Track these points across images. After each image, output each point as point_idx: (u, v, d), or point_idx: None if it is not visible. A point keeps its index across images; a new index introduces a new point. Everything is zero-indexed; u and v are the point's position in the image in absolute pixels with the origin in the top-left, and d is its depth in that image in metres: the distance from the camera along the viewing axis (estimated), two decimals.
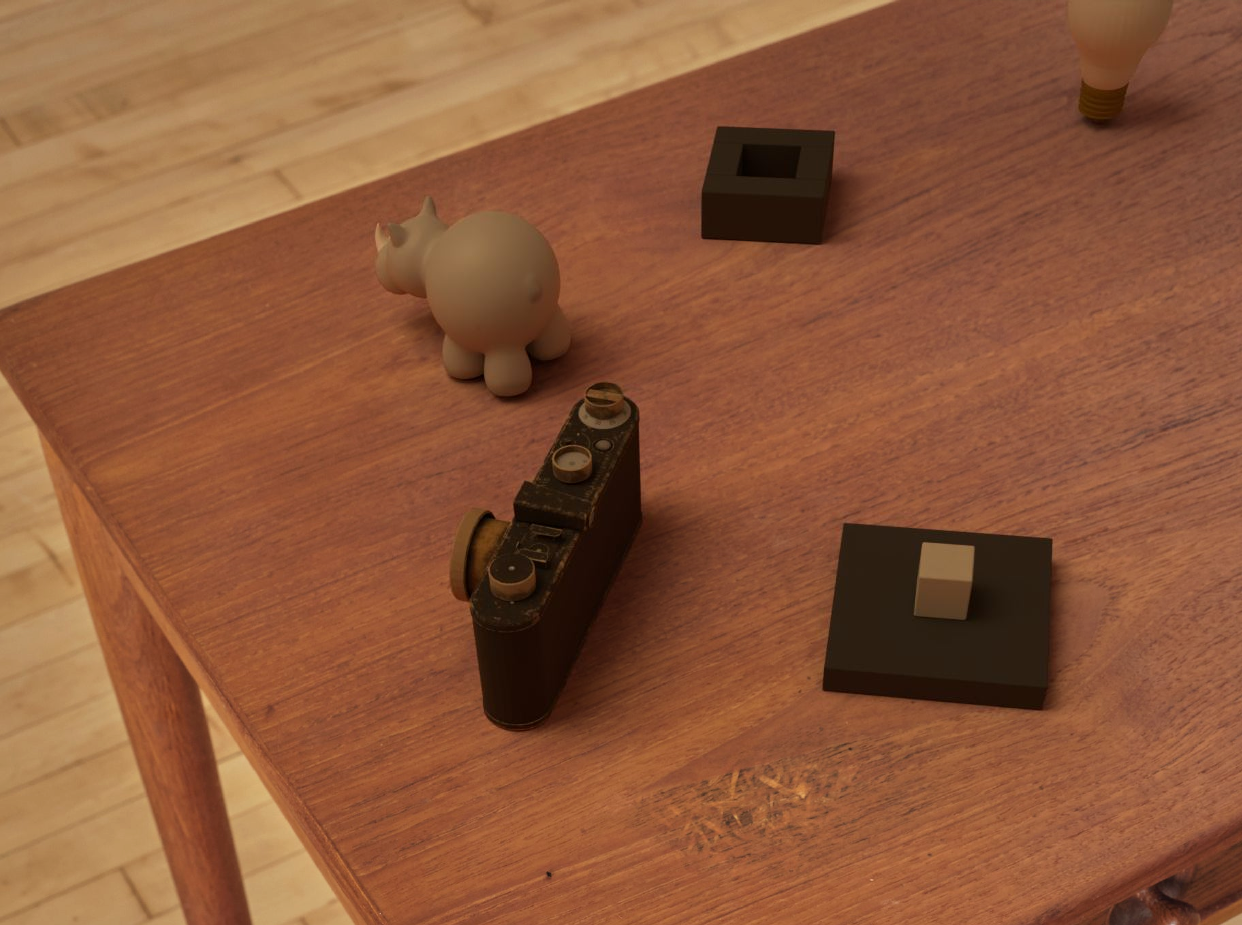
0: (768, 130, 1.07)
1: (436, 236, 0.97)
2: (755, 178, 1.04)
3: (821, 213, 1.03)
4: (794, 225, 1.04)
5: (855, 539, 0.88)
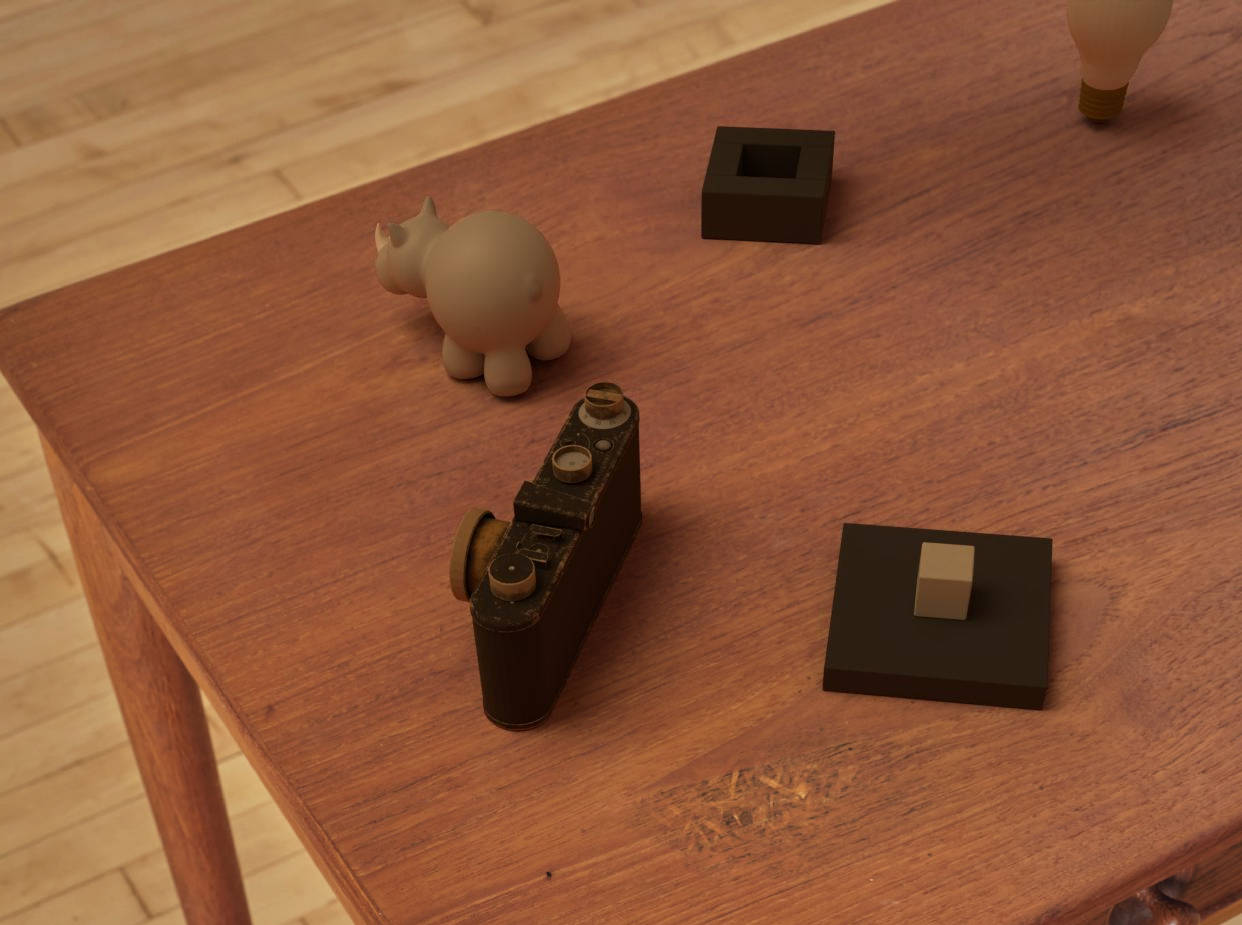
0: (768, 130, 1.07)
1: (436, 236, 0.97)
2: (755, 178, 1.04)
3: (821, 213, 1.03)
4: (794, 225, 1.04)
5: (855, 539, 0.88)
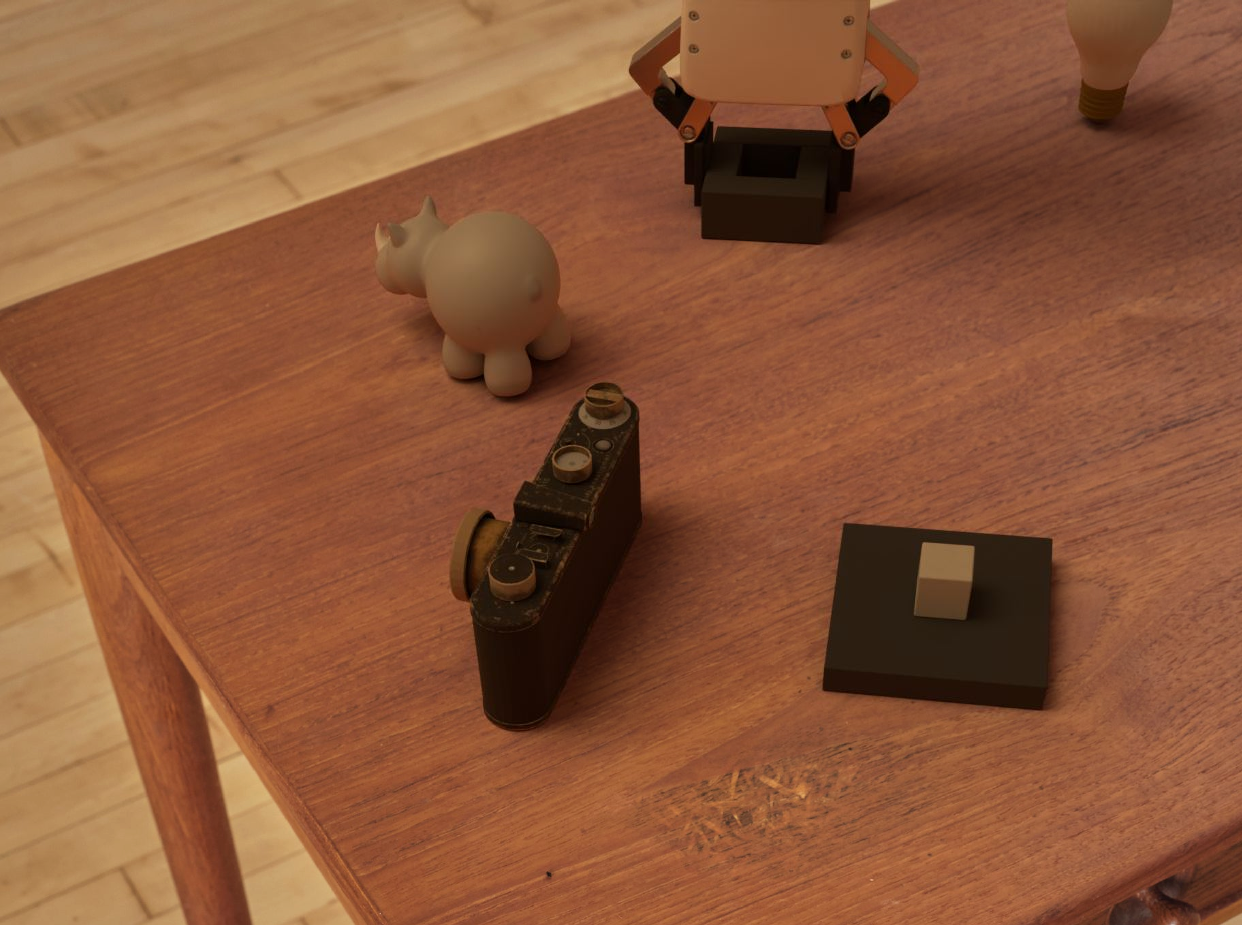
0: (768, 130, 1.07)
1: (436, 236, 0.97)
2: (755, 178, 1.04)
3: (821, 213, 1.03)
4: (794, 225, 1.04)
5: (855, 539, 0.88)
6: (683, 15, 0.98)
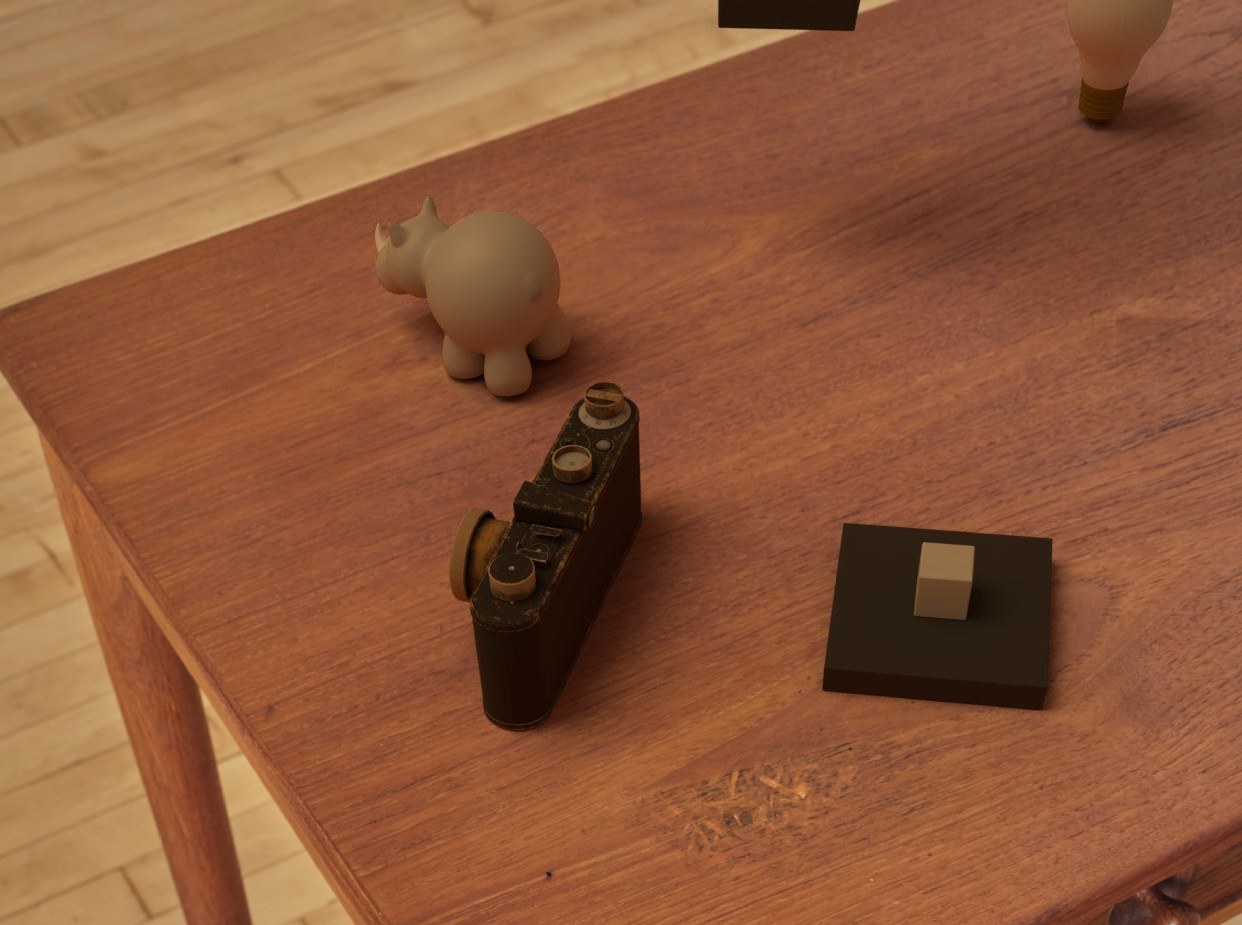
0: None
1: (436, 236, 0.97)
2: None
3: None
4: (824, 8, 0.91)
5: (855, 539, 0.88)
6: None
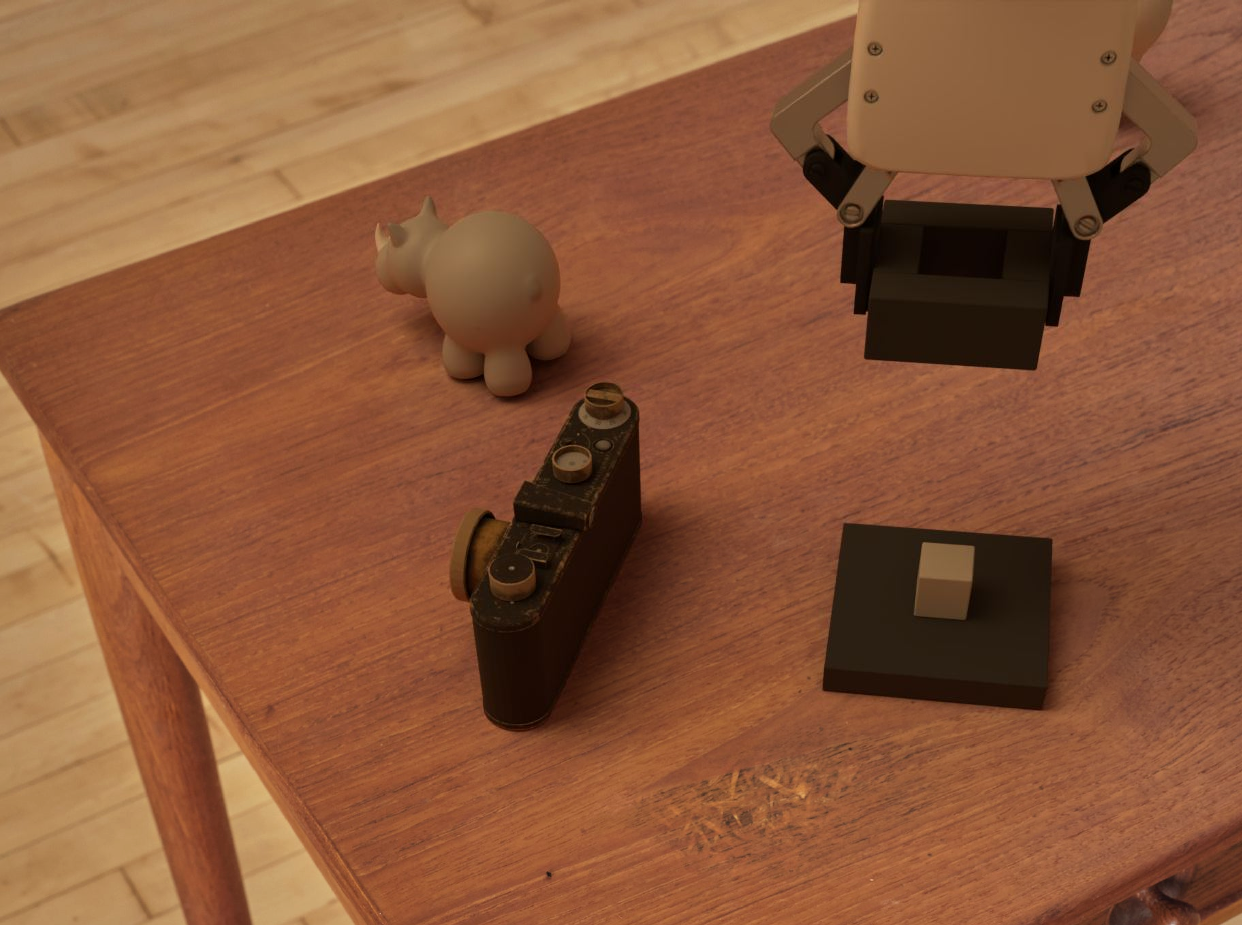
0: (958, 206, 0.76)
1: (436, 236, 0.97)
2: (945, 277, 0.73)
3: (1042, 329, 0.72)
4: (1000, 345, 0.73)
5: (855, 539, 0.88)
6: (858, 48, 0.66)
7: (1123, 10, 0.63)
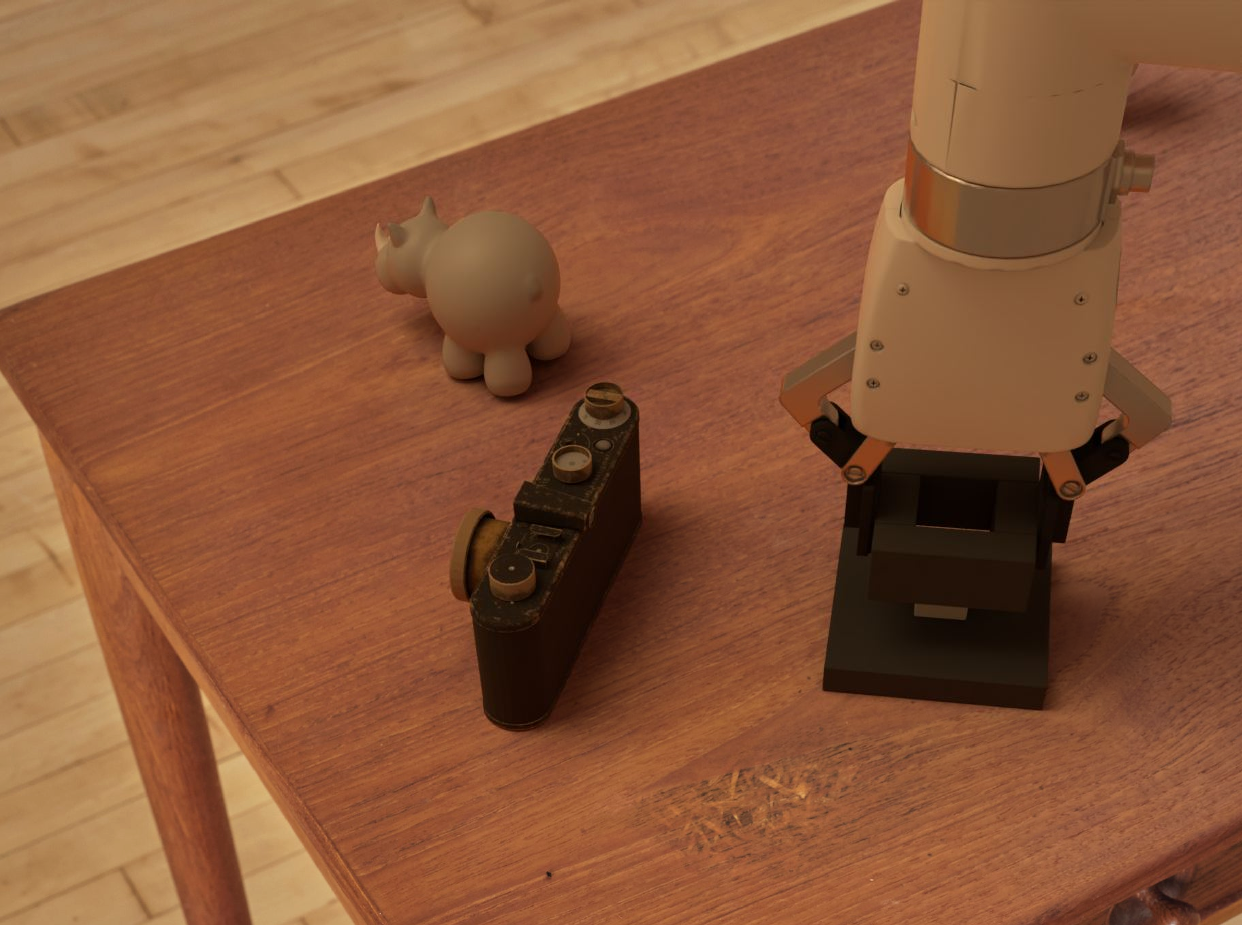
0: (952, 454, 0.82)
1: (436, 236, 0.97)
2: (941, 530, 0.79)
3: (1030, 579, 0.78)
4: (992, 591, 0.79)
5: (855, 539, 0.88)
6: (861, 343, 0.73)
7: (1103, 320, 0.69)
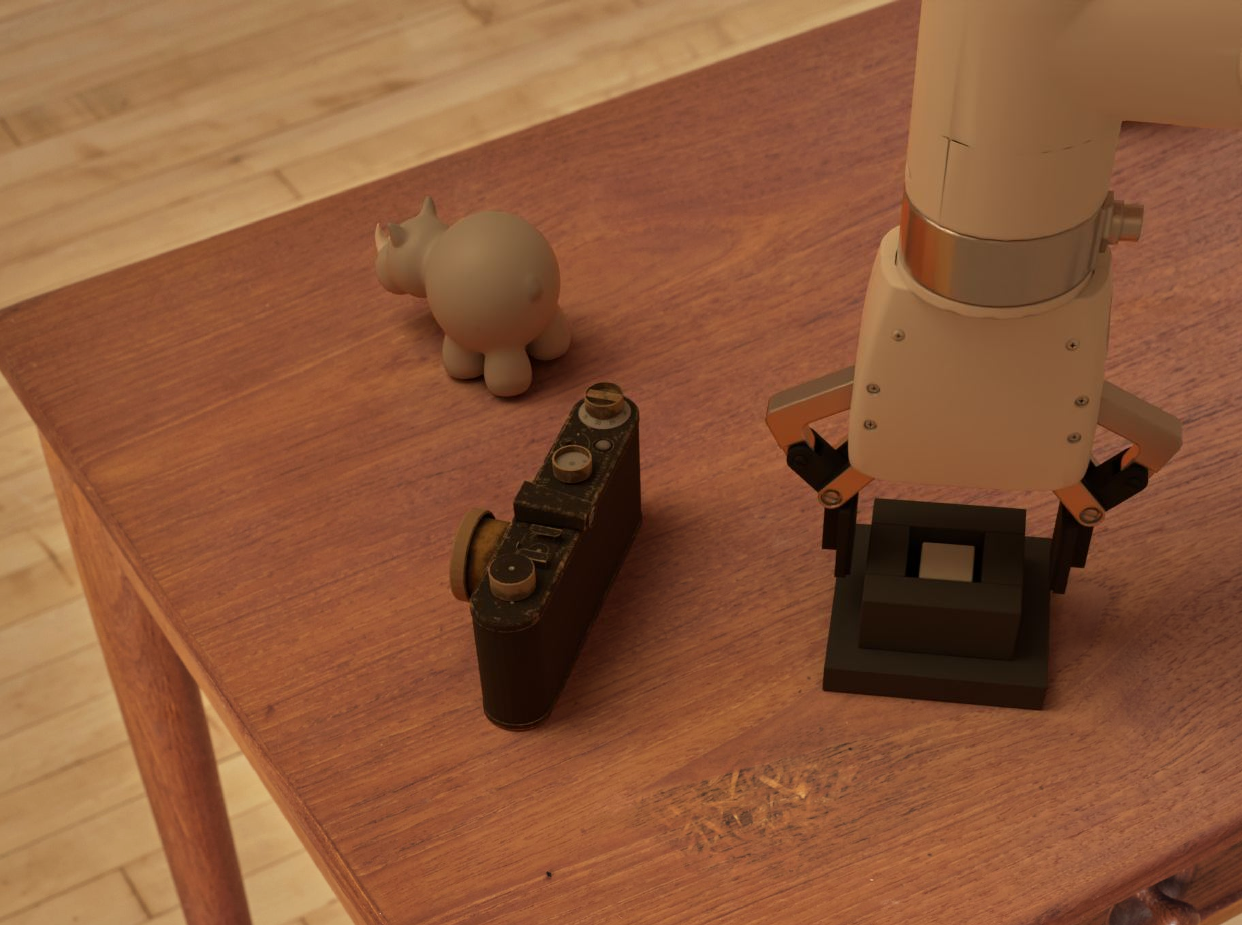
0: (941, 506, 0.84)
1: (436, 236, 0.97)
2: (930, 581, 0.81)
3: (1016, 629, 0.81)
4: (979, 640, 0.82)
5: (855, 539, 0.88)
6: (858, 386, 0.74)
7: (1094, 365, 0.71)
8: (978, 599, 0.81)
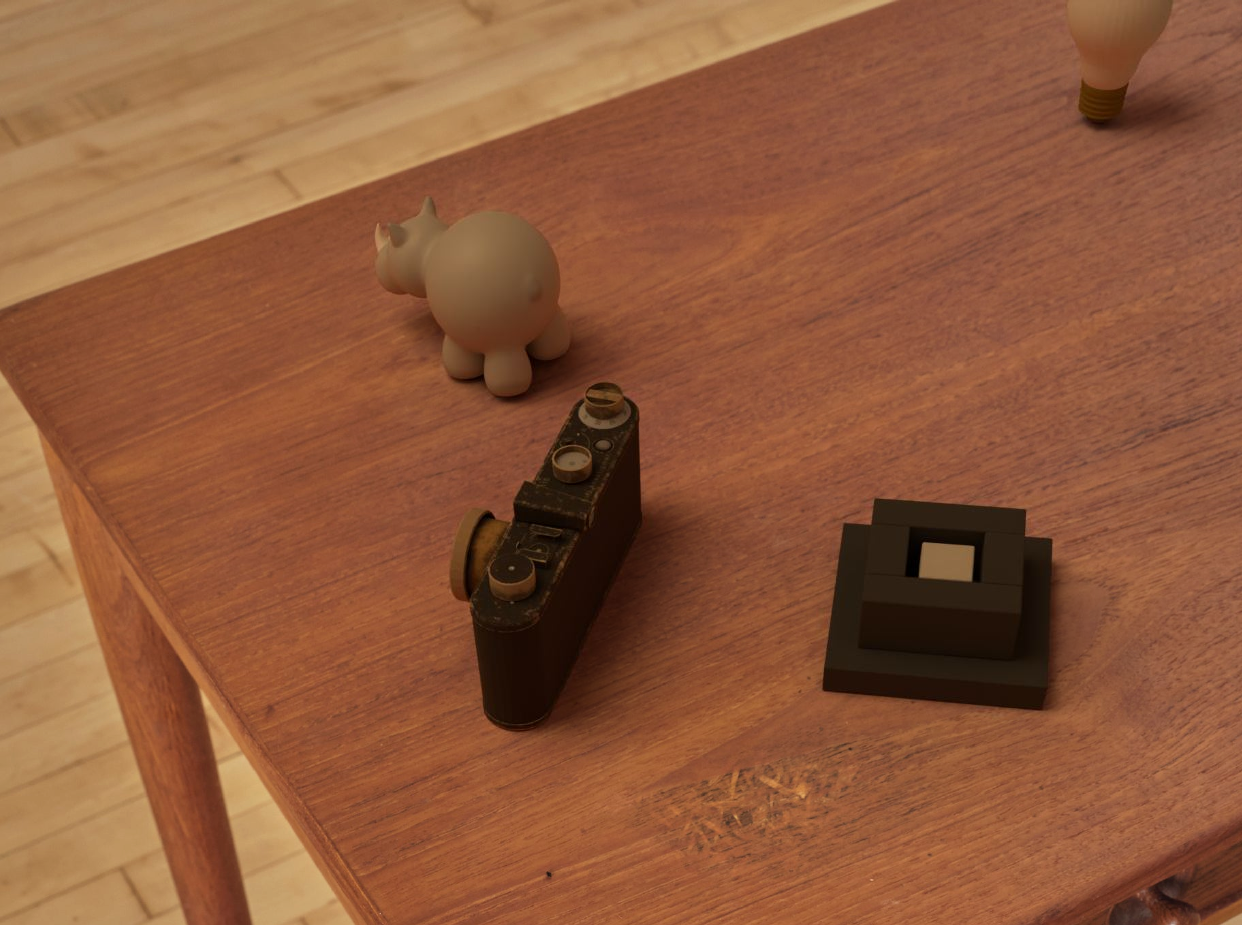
0: (941, 506, 0.84)
1: (436, 236, 0.97)
2: (930, 581, 0.81)
3: (1016, 629, 0.81)
4: (979, 640, 0.82)
5: (855, 539, 0.88)
6: None
7: None
8: (978, 599, 0.81)
